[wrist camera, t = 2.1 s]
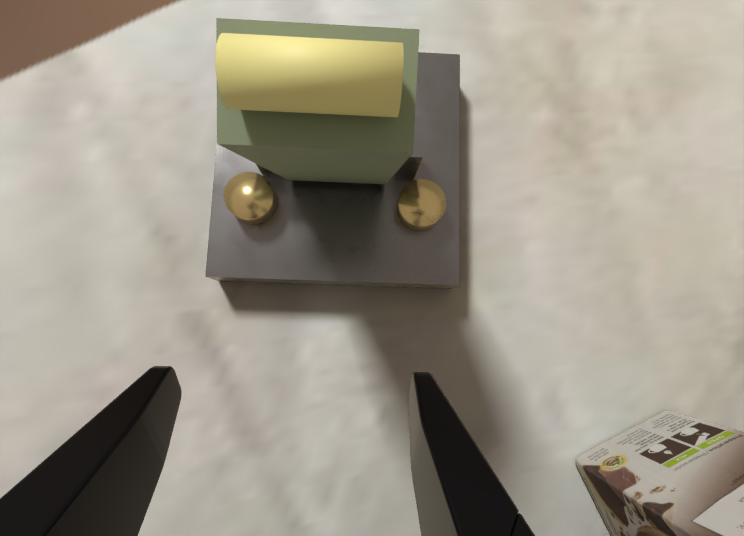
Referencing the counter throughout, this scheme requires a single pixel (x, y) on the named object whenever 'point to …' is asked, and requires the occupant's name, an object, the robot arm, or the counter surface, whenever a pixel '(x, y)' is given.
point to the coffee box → (669, 478)
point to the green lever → (317, 98)
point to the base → (350, 210)
